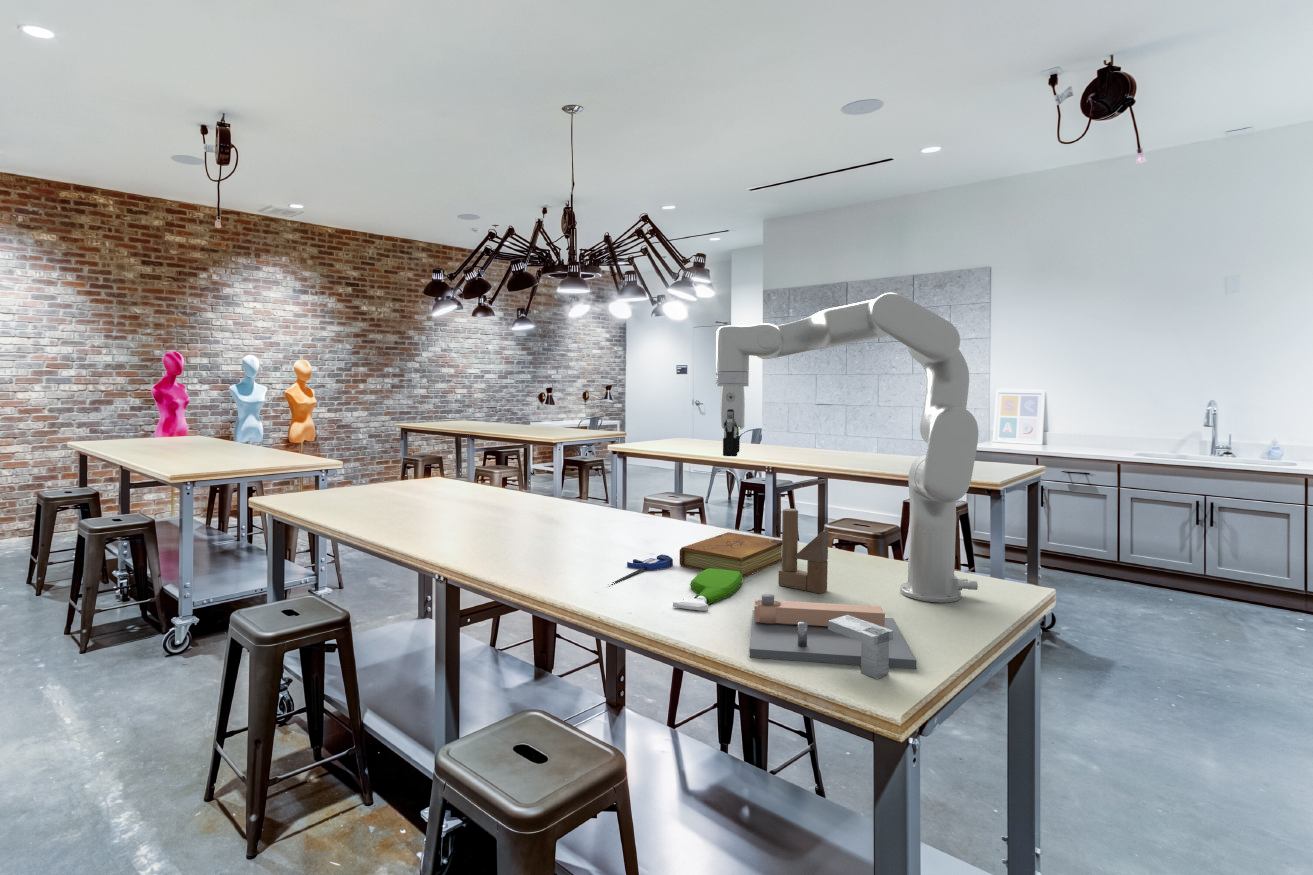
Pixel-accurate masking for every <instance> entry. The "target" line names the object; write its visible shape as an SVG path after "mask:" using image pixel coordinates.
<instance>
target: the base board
mask: <svg viewBox="0 0 1313 875" xmlns="http://www.w3.org/2000/svg"><path fill="white" fill-rule="evenodd" d="M885 628H887V629H890V630H893V640H890V641H889V668H899V669H910V670H911V669H912V670H913V669H915V670H917V662H918V661H917V660H918V659H917V658H916V656H915V654H914V653H913V651H912V649H911V647H910V645H909V644H908V642H907V641H906V638H905V637H904V635H903V633H902V631H901V629H900V628H899V627H898V624H897V621H895V619H894V618H893V617H885ZM749 640H750V642H749V658H753V659H755V658H756V659H765V660H767V659H769V660H781V661H782V660H785V661H795V662H808V663H809V662H810V663H811V662H812V663H828V664H840V665H855V666H861V645H862V642H860V641H857V640H855V639H852V638H849V637H847V636H844V635H841V634H839V633H836V632H833V631H831V630H828V626H817V625H807V647H800V646H798V624H784V623H770V624H769V623H761V622H754V609H753V610H752V613H751V627H750V639H749Z"/></svg>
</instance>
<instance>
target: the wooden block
mask: <svg viewBox="0 0 1313 875" xmlns="http://www.w3.org/2000/svg"><path fill="white" fill-rule="evenodd" d="M781 523H782V526H781V528H782V529H781V532H782V533H781V536H782V537H781V540H782V561H781V569H779V570H778V580H777V582H778V583H777V585H778V586H781V587H786V588H790V589H796V590H801V591H804V592H805V591H807V592H809V593H814V594H820V595H821V594H824V593H825V592H826V591H828V565H829V564H828V563H829V562H828V559H829V529H826V530H823V531H821V532H820V533H819V534H817V535H816V537H814V538H813V539H811V541H810V542H808V543H807V544H806V545H805V546H804V547H803V548H802V549H801V550H800V551H798V548H799V547H798V545H799V544H798V543H799V542H798V538H799V534H798V533H799V510H798V509H796V508H783V509H782V520H781ZM798 560H803V561H807V568H806V569H807V570H806V571H805V570H800V569H798Z"/></svg>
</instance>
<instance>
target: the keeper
mask: <svg viewBox="0 0 1313 875" xmlns="http://www.w3.org/2000/svg"><path fill="white" fill-rule="evenodd" d="M828 630H831V631H833V632H836V633H839V634H841V635H844V636H847V637H849V638H852V639H855V640H857V641H860V642H862V645H861V665H860V673H862V674H863V675H865V676H869V677H871V678H873V679H875V680H878V679H880V678H883V677H885V676H888V675H889V668H890V667H889V641H890V640H893V630H890V629H887V628H885V627H882V626H879V625H876V624H873V623H870V622H867V621H864V620H861V619H858V618H855V617H852V616H849V615H845V616H842V617H838V618H835V619H832V620H829V621H828ZM798 646H800V647H807V622H805V621H799V622H798Z"/></svg>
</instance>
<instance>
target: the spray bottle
mask: <svg viewBox="0 0 1313 875" xmlns="http://www.w3.org/2000/svg"><path fill="white" fill-rule="evenodd" d="M743 580H744V578H743V576H742V575H741V573H740V572H739V571H732V570H722V569H713V568H708V569H706V570H704V571H702V570H701V572H699V573H698V574H696V576H695V577H694V578H692V580H690V584H689V585H690V589H691V590H692V591H693V592H695V593H697V594H695V596H694V597H693V598H691V599H687V598H686V597H685V596H683V597H682V600H680V601H672V607H674V608H679V609H683V610H693V611H700V612H701V611H703V612H705V611H706V612H708V611H709V604H710V605H711V604H712V603H716V602H719V601H721V600H723V599H726V598H728V597H730V596H732V595H733V594H734V593H736V592H737V591H738V590H739V588H740V587H741V585H742V583H743Z"/></svg>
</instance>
